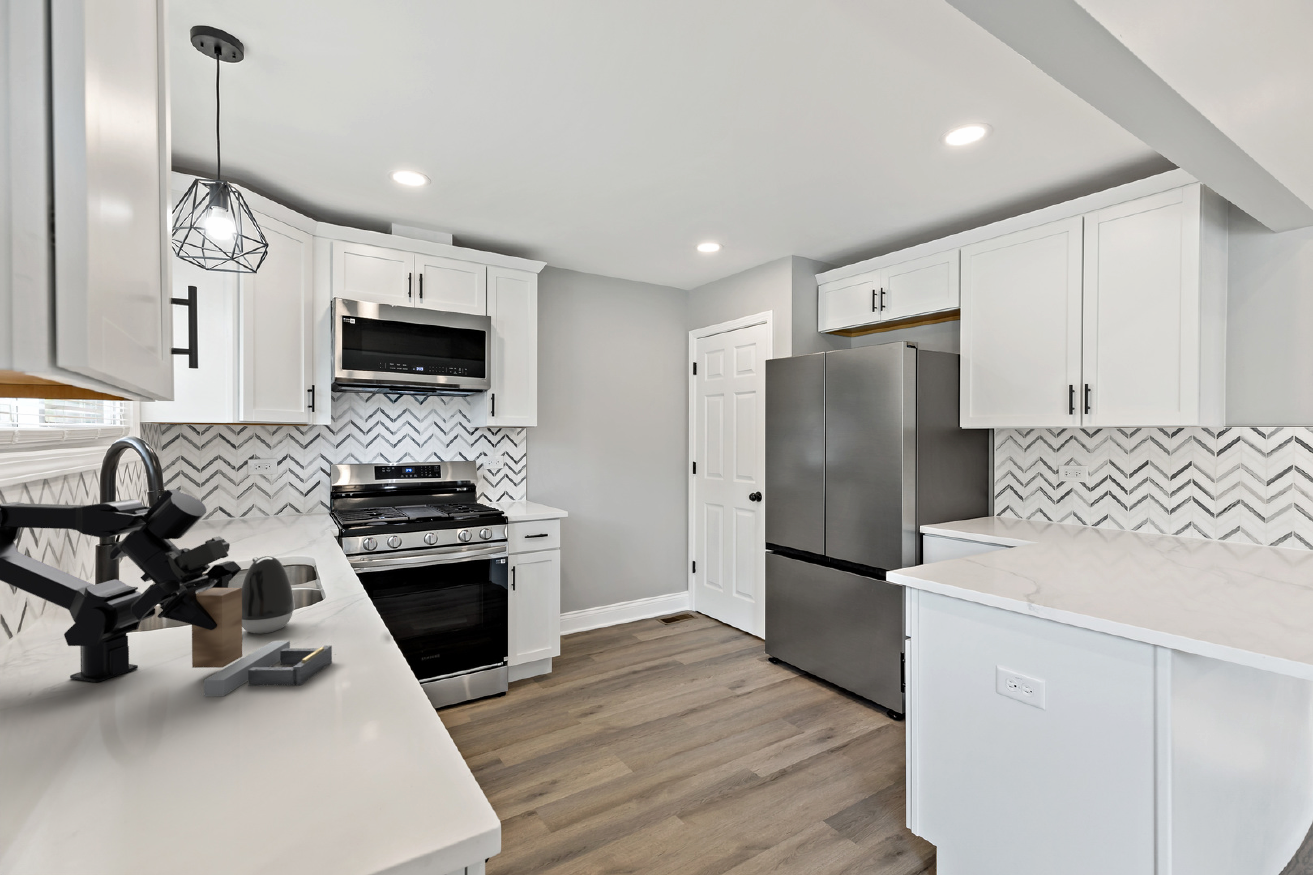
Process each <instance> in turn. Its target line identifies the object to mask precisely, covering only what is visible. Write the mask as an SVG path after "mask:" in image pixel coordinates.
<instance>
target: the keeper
mask: <svg viewBox="0 0 1313 875" xmlns="http://www.w3.org/2000/svg"><path fill="white" fill-rule="evenodd" d="M332 648H333V646H332V645H324V646H321V647H318V648H317V647H316V648H307V647H306V648H302V647H301V648H296V647H295V648H291V647H290V648H284V649H282V650H281V651H280V661H279V663H280V664H279V665H280V666H281V667H279V666H274V667H273V666H270V667H253V668H251V669H249V670H248V681H247V682H248V685H247V686H302V685H304V683H306V682H307V681H309V680H310V679H311V678H312V677H314V676H315V675H317V674H318V673H319V672H321V671H322V670H324V669H325V668H326V667H327V666H329V665H330V664H332V662H333V649H332ZM287 666H288V667H287ZM289 666H293V667H289Z"/></svg>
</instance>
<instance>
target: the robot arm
mask: <svg viewBox="0 0 1313 875" xmlns="http://www.w3.org/2000/svg"><path fill="white" fill-rule="evenodd" d="M206 514H207V508H206V505H205V504H204V503H203V501H201V500H200V499H198V498H195V497H193V495H191V494H187V493H184V492H181V491H180V490H179V489H178V488H171V489H166V490H165V491H164V492H163V493H162V494H161V497H160V498H159V499H158V500H157V501H156V502H155V503H154V504H153V505H152V506H146V505H143V504H142V502H141V501H140V500H138V499H123V500H116V501H109V502H101V503H96V504H58V503H57V504H53V503H52V504H51V503H24V502H20V501H14V502H4V503H0V581H1V583H2V582H3V583H5V584H7V585H10V586H12V587H15V588H17V589H19V590H21V591H23V592H26V593H28V594H30V595H33V596H35V597H37V598H40V599H42V600H43V601H47V602H49V603H52V604H54V605H57V606H58V607H61V608H64V609H66V610H67V611H69V613H70V616H71V618H72V620H73V622H74V623H73V625H71V626H70V627H69V628H68V629H67V630H66V631H65V632H64V634H63V635H64V636H63V637H64V639H65V641H66V645H67V646H68V647H80V671H78V672H75V673H73V674H70V675H69V678H70V679H71V680H79V681H83V682H84V681H86V682H91V683H93V682H94V683H100V682H103V681H106V680H108V679H110V678H113V677H117V676H119V675H123V674H125V673H129V672H131V671H135V670H136V669H139V666H138V664H133V663H131V664H130V646H129V636H128V635H127V633H130V632H133V631H137V630H138V629H139V627H140V625H141V622H142V621H144V620H147V619H149V618H152V617H154V616H155V615H156V608H155V607H157V605H159V608H160V609H161V611H160V612H159V613H158V614H157V615H156V616H157V618H159V619H162V618H164V619H168V620H172V621H177V622H181V623H185V624H188V625H191V626H192V625H195V626H199V627H202V628H205V629H209V630H214V629H215V628H216V627H217V624H216V622H215V621H214V619H213V618H212V617H211V616H210V615H209V613H208V612H207V611H206V610H205V609H204V608H203V606H202V605H201V604H200V603H199V602H198V601H197V599H196V594H197V593H200V592H203V591H205V590H208V589H211V588H229V583H230V581H232V580H233V578H234V577H235V576H236V575H237V574H238V573H239V572H240V571H241V570H242V567H241V566H240V565H238V563H236V561H234V560H226V561H223V562H219V563H217V564H214V565H213V566H212V567H211V566H210V564H211V563H213V562H215V561H218V560H221V559H225V558H228V557H229V553H228V552H229V551H230V546H231V545H230V543H229V542H227V541H226V540H225V539H224V538H223V537H222V536H220V535H218V536H215V537H211V539H208V540H207V539H206V540H205V541H204V543H203V544H200V545H198V546H195V547H194V548H191V549H190V548H187V547H185V548H181V549H179V548H178V546H176V544H174V543H173V541H172V540H177V539H181V538H183V537H184V536H185V535H186V534H187V533H188V532H189V531H190V530H191V529H192V528H193V527H194V526H195V524H197V523H198V522H199V521H200V520H201V519H202V518H203V517H204V516H205V515H206ZM22 528H23V529H26V528H28V529H59V530H61V529H62V530H73V531H77V532H79V533H80V534H82V535H86V536H91V537H95V538H101V539H105V538H111V537H115V536H121V535H122V536H123V535H126V534H127V535H126V536H125V537H124V538H123V539H122V540H121V541H120V540H119V541H116V542H112V543H111V550H110V552H109V559H110V560H111V561H113V560H117V559H120V558H125V557H128V558H129V560H131V562H132V563H134V564H135V565H136V566H137V567H138V568H139V569H140V570H141V571H142V572H143V573H144V574H142V576H140V579H141V580H142V582H144V583H146V582H149V581H152V582H153V584H150V585H149V586H148V587H147V588H146V589H145V590H144V591H143V592H142V593H141V592H140V591H138V589H139V586H130V585H129V584H127V583H125V582H123V580H120V579H117V578H114V579H112V580H107V581H103V582H100V583H98V584H97V583H96V584H94V583H91V582H88V581H86V580H84V579H81V578H79V577H77V576H74V575H73V574H70V573H68V572H65V571H63V570H60V569H58V568H56V567H53V566H51V565H50V564H46V563H44V562H42V561H40V560H37V559H35V558H32V557H30V556H27V555H25V554H24V553H21V552H19V550H18V548H17V545H16V543H15V542H16V540H18V539H19V538H20V533H21V530H22ZM171 539H172V540H171ZM205 572H206V573H205ZM204 573H205V574H204Z"/></svg>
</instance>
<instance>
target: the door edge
mask: <svg viewBox="0 0 1313 875" xmlns="http://www.w3.org/2000/svg"><path fill="white" fill-rule="evenodd" d="M284 648H291V641H290V640H272V641H271V642H269V643H267V644H266V645H264V646H262V647H260V648H258V649H256V650H255V651H252V652H251V653H250V654H248V655H245V656H243V657H241V658H239V659H238V660H236V662H235V661H234V662H232V663H231V664H229V665H227V666H225V668H223V669H221V670H219V671H218V672H216V673H214V674H213V675H210V676H208V677H207V678H205V679H204V680H203V696H204V697H224V696H226V695H228V694H229V693H231V692H232V691H233V690H235V689H237V688H239V687H240V686H242V685H243V684H245V683H247V682H248V670H249V669H251V668H253V667H273V666H274V665H275V664H277V663H278V662H280V651H281V650H282V649H284Z"/></svg>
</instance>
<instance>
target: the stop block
mask: <svg viewBox="0 0 1313 875" xmlns="http://www.w3.org/2000/svg"><path fill="white" fill-rule="evenodd" d="M196 599H197V601H198V602H199V603H200V604H201V605H202V606H203V608H204V609H205V610H206V611H207V612H208V613H209V615H210V616H211V617H212V618H213V619H214V621H215V622H216V624H217V627H216V628H215V629H214V630H209V629H205V628H202V627H199V626H195V625H192V624H191V665H192V666H191V668H197V669H198V668H199V669H200V668H201V669H204V668H206V669H207V668H210V669H211V668H216V669H217V668H223V669H224V667H225V668H226V667H227V666H229V665H231V664H233V663H234V662H235V661H238V660H240V659H242V658H243V627H242V588H241V587H228V588H211V589H208V590H205V591H203V592H200V593H198V592H196Z"/></svg>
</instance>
